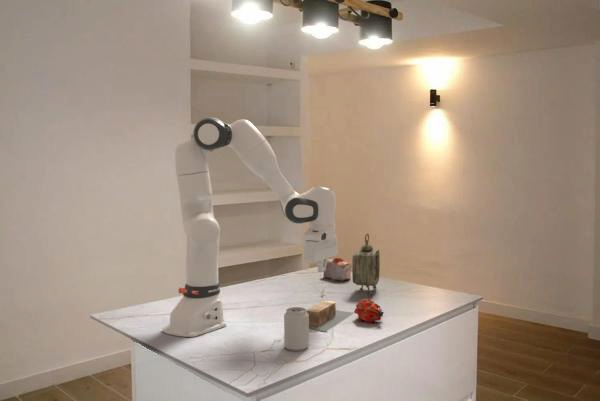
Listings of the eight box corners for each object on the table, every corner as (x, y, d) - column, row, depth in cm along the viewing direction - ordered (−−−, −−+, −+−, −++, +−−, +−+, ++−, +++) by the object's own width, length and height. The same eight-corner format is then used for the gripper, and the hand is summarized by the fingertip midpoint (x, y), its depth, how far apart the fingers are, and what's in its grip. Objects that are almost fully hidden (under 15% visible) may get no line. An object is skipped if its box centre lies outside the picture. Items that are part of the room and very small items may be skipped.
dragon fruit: (357, 321, 204) (381, 334, 194) (344, 311, 199) (368, 324, 189) (369, 300, 205) (393, 313, 196) (357, 290, 200) (381, 302, 191)
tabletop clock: (373, 296, 231) (373, 236, 229) (351, 295, 234) (351, 235, 232) (379, 288, 245) (379, 231, 243) (359, 287, 248) (359, 230, 245)
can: (308, 343, 176) (308, 305, 175) (309, 351, 169) (309, 312, 168) (284, 343, 176) (283, 306, 175) (284, 352, 168) (284, 313, 167)
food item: (354, 279, 263) (354, 258, 262) (343, 282, 257) (343, 261, 256) (331, 275, 272) (331, 255, 271) (320, 278, 266) (320, 257, 265)
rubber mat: (326, 332, 186) (326, 331, 186) (289, 326, 193) (289, 325, 193) (354, 313, 207) (354, 312, 207) (320, 308, 214) (320, 307, 214)
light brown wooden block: (335, 315, 204) (318, 326, 191) (323, 313, 206) (305, 324, 194) (335, 302, 203) (318, 312, 191) (323, 300, 206) (305, 310, 193)
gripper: (327, 228, 208) (326, 265, 209) (301, 235, 190) (300, 275, 191) (342, 230, 205) (341, 267, 206) (318, 236, 187) (317, 277, 188)
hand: (321, 271), depth 199 cm, fingers closed
